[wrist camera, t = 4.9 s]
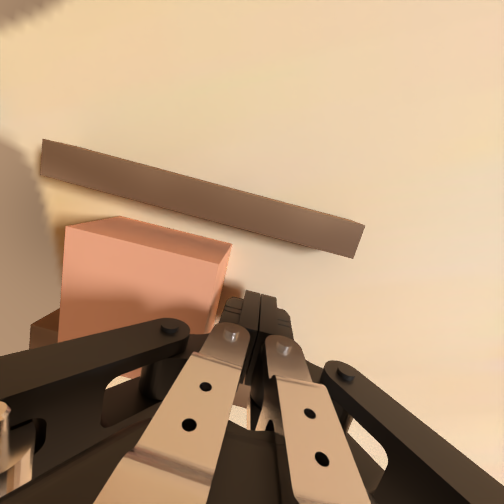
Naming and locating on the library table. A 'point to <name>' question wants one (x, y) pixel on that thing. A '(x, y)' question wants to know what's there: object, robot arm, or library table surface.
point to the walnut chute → (191, 211)
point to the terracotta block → (138, 277)
